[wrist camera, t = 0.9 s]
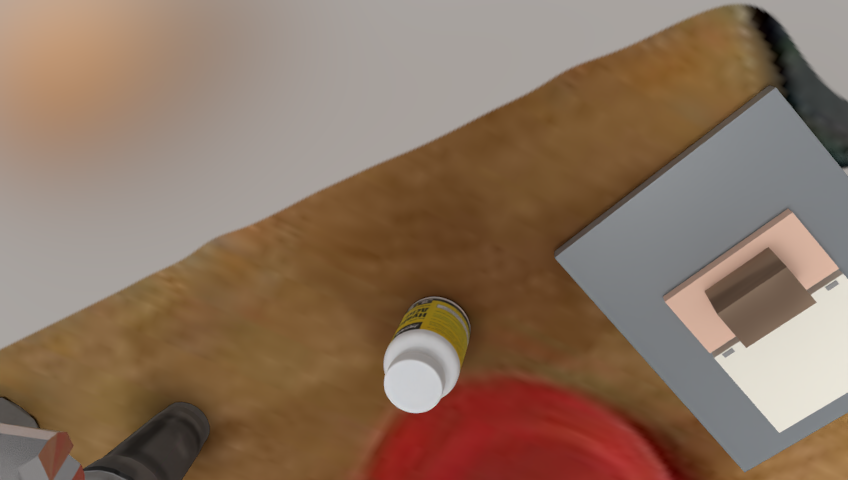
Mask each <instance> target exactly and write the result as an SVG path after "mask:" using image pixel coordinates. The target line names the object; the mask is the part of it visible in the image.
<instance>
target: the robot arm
mask: <svg viewBox="0 0 848 480" xmlns="http://www.w3.org/2000/svg"><path fill="white" fill-rule="evenodd" d="M72 448H73V444H72V442H71V440H70V438H69V435H68V433H67V432H61V431H54V430H46V429H39V428H32V427H25V426H18V425H10V424H4V423H0V480H85V474H84V471H83V469H82V466H81V464H80V463H79V462H77V461H76V460H75V459H74V458H72V457H71V456H70V455H69V453H70V451H71V449H72Z"/></svg>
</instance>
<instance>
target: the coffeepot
mask: <svg viewBox="0 0 848 480" xmlns="http://www.w3.org/2000/svg"><path fill="white" fill-rule="evenodd" d="M0 423H4V424H10V425H18V426H25V427H32V428H39V426H38V425H37V423H36V422H35V420H34V419H33V418H32V417H31V416H30V415H29V414H28V413H27V412H26V411H25V410H24V409H22V408H21V407H19V406H18V405H16V404H14V403H13V402H10V401H8V400H5V399H4V398H0ZM39 429H40V428H39Z"/></svg>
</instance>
